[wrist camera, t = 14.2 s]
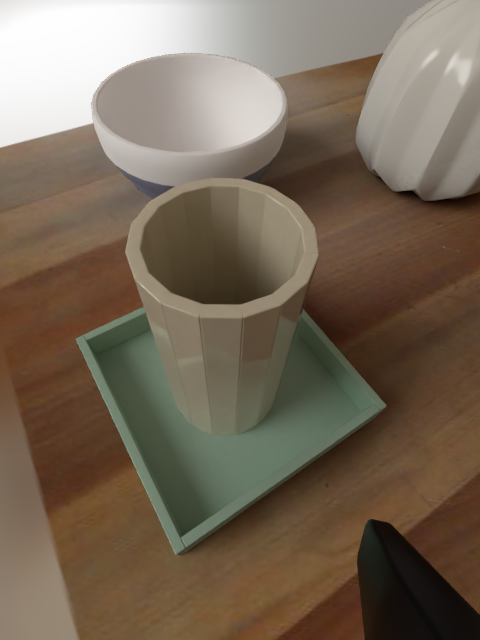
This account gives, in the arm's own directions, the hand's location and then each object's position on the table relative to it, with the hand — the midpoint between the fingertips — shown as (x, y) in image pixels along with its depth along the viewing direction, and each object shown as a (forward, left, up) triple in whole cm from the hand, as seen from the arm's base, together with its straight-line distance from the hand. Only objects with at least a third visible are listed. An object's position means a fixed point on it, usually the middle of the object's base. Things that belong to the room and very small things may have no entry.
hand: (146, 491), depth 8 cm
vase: (+32, +15, -14) cm, 38 cm away
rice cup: (+5, +6, -13) cm, 15 cm away
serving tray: (+5, +6, -14) cm, 16 cm away
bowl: (+13, +24, -14) cm, 31 cm away
